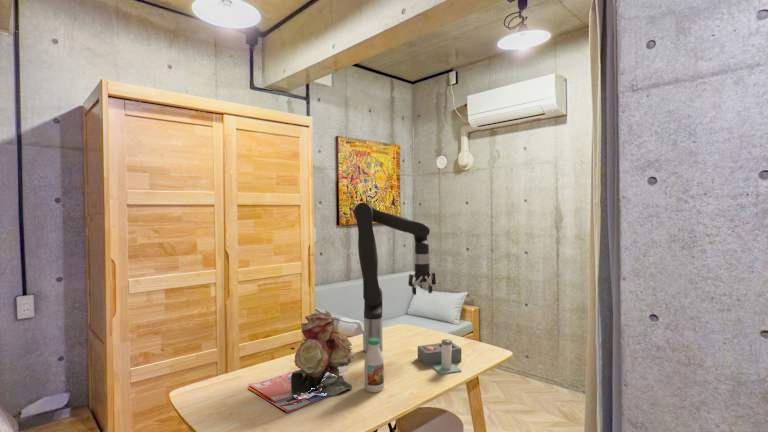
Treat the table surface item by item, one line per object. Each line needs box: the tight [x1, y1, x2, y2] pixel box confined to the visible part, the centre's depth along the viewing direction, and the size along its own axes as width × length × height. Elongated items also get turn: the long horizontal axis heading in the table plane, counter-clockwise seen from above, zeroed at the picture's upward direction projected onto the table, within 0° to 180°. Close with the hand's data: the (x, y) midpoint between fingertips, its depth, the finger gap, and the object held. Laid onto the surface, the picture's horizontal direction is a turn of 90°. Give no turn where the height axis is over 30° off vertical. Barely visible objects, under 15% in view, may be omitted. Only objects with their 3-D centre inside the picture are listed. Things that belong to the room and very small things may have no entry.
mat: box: [431, 362, 462, 376], centre depth 179 cm, size 10×9×1 cm
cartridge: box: [441, 338, 453, 370], centre depth 179 cm, size 5×5×12 cm
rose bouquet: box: [289, 310, 354, 398], centre depth 164 cm, size 26×29×30 cm
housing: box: [417, 342, 462, 367], centre depth 190 cm, size 18×10×6 cm, turn 109°
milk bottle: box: [364, 338, 385, 393], centre depth 160 cm, size 8×8×20 cm
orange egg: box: [425, 346, 434, 351], centre depth 188 cm, size 4×4×6 cm
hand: (422, 293), depth 205 cm, fingers open, 8 cm apart
